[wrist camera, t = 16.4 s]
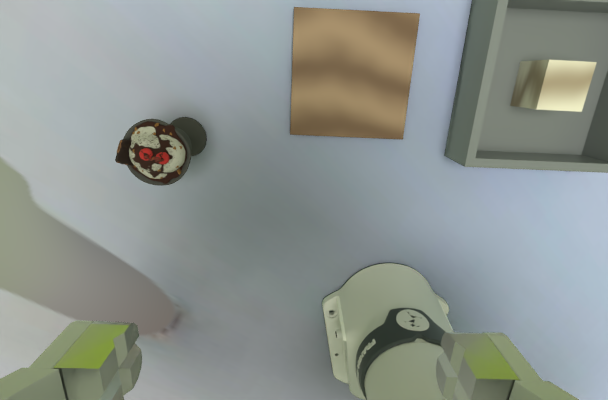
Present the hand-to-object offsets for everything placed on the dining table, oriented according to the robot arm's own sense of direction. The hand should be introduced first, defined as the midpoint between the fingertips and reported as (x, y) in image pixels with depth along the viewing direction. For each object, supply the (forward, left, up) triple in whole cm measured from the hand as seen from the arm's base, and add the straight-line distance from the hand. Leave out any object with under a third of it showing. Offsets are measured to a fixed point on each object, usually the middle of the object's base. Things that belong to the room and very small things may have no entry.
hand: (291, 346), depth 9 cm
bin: (+7, -28, -37) cm, 47 cm away
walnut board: (+7, -6, -37) cm, 38 cm away
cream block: (+7, -28, -36) cm, 46 cm away
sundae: (-1, +14, -37) cm, 40 cm away
